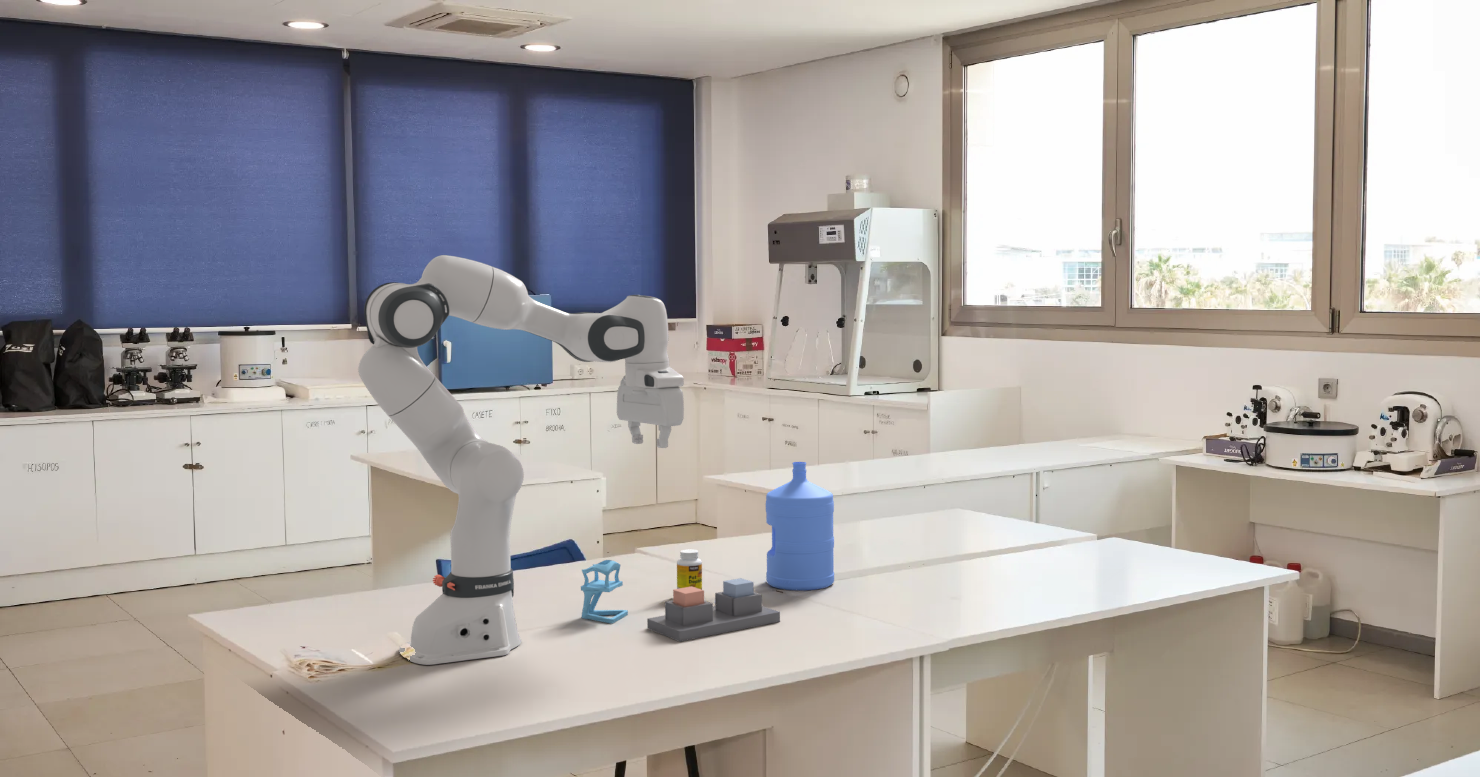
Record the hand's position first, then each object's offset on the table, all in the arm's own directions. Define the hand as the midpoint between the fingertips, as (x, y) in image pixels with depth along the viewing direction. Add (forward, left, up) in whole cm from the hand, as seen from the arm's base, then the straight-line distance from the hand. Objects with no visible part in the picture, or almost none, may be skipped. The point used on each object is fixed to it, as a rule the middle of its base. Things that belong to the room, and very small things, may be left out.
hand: (649, 445), depth 243 cm
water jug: (+45, +10, -36) cm, 59 cm away
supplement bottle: (+18, +15, -36) cm, 43 cm away
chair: (-6, +11, -36) cm, 38 cm away
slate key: (+15, -8, -31) cm, 36 cm away
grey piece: (+9, -8, -36) cm, 38 cm away
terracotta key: (+3, -8, -31) cm, 32 cm away
